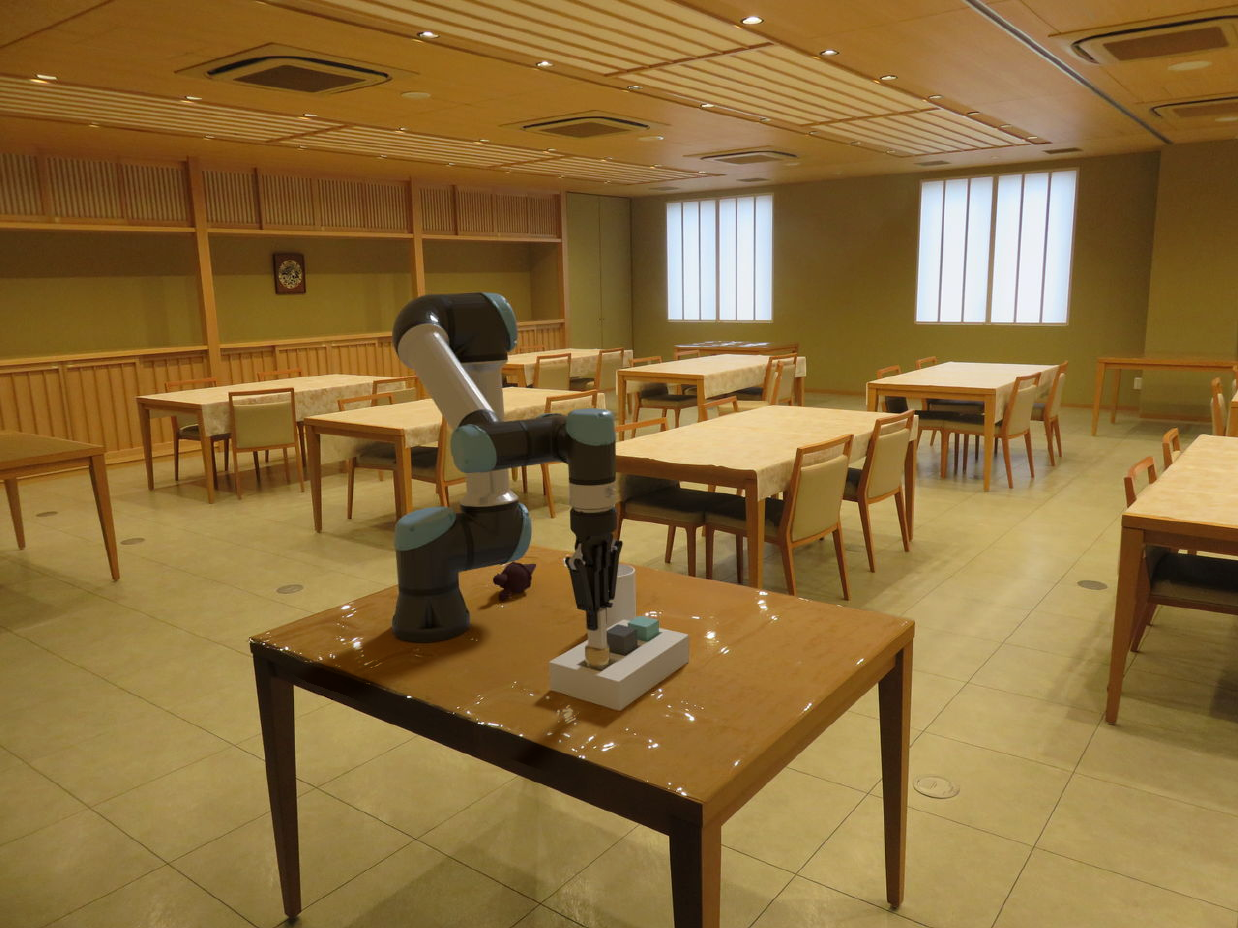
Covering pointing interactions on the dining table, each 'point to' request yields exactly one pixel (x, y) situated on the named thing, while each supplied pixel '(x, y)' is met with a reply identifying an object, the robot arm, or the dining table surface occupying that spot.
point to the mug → (623, 597)
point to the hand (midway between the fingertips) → (597, 645)
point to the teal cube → (645, 628)
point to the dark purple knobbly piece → (514, 579)
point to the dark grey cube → (622, 639)
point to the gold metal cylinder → (597, 658)
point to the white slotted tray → (620, 670)
